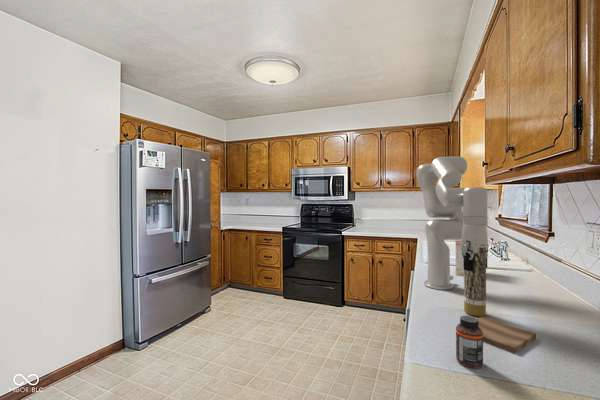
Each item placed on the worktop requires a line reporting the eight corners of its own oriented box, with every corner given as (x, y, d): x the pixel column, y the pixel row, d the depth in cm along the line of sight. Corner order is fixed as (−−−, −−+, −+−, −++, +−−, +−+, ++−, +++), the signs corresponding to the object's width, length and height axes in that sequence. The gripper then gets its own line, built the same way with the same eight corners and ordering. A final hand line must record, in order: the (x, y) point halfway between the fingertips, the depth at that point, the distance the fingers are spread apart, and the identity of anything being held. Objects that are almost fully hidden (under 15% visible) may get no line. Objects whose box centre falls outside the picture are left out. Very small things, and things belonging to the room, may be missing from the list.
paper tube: (477, 309, 108) (478, 242, 108) (490, 317, 101) (490, 245, 101) (460, 310, 108) (460, 243, 108) (471, 317, 101) (471, 246, 101)
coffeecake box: (461, 269, 168) (461, 236, 168) (475, 271, 163) (475, 237, 163) (454, 275, 157) (454, 239, 157) (469, 277, 152) (469, 240, 152)
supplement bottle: (459, 353, 78) (459, 311, 78) (485, 362, 74) (485, 317, 74) (453, 363, 73) (453, 318, 73) (480, 372, 69) (480, 325, 69)
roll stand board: (482, 320, 98) (482, 316, 98) (536, 338, 86) (536, 333, 86) (458, 332, 90) (458, 327, 90) (514, 353, 78) (514, 348, 78)
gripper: (476, 220, 112) (476, 264, 112) (451, 221, 103) (452, 270, 102) (497, 221, 106) (498, 268, 106) (473, 222, 96) (474, 274, 96)
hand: (475, 269), depth 104 cm, fingers open, 9 cm apart
